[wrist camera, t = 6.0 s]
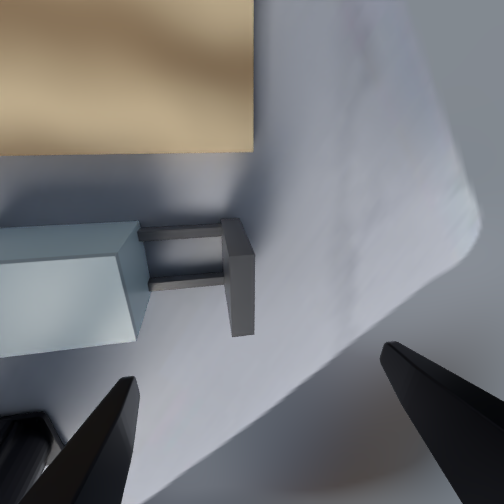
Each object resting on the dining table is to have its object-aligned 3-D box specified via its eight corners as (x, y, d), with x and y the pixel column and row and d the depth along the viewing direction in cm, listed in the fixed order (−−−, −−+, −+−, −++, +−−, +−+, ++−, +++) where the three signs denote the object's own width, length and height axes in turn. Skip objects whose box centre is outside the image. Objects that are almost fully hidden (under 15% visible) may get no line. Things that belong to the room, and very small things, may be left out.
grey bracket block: (238, 215, 17) (255, 252, 12) (239, 280, 19) (254, 335, 14) (-9, 228, 15) (-122, 280, 10) (24, 300, 17) (-54, 375, 12)
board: (248, 150, 15) (253, 152, 14) (-71, 154, 13) (-103, 157, 11) (247, -68, 11) (253, -94, 10) (-211, -124, 9) (-283, -169, 8)
